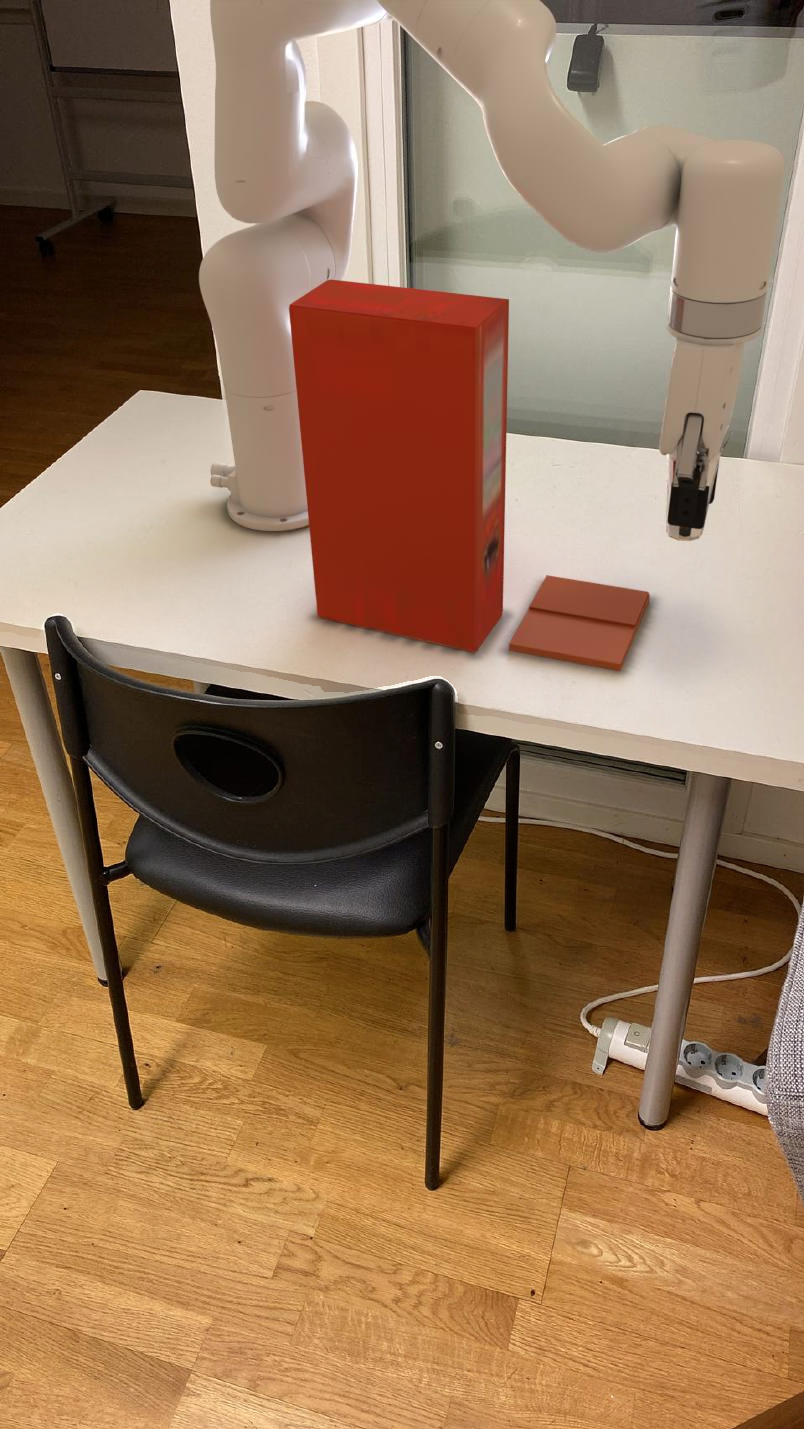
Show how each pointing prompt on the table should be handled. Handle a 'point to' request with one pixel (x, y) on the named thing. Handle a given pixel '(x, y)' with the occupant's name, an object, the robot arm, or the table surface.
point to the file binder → (404, 456)
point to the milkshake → (692, 533)
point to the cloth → (581, 622)
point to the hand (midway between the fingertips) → (690, 511)
